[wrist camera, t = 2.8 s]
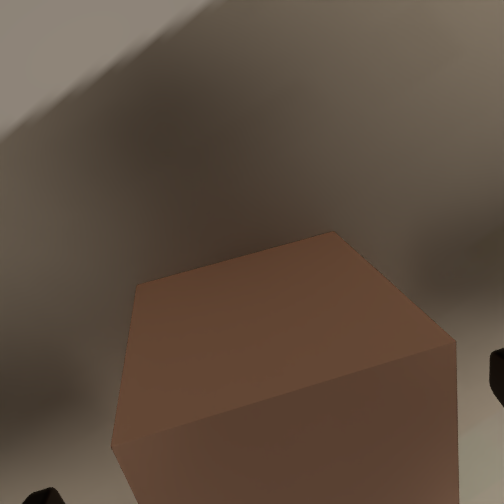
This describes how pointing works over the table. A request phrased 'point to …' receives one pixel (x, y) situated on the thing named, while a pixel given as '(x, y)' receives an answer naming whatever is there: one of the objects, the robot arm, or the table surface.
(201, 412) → the cube
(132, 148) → the table surface
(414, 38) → the table surface
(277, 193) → the table surface
